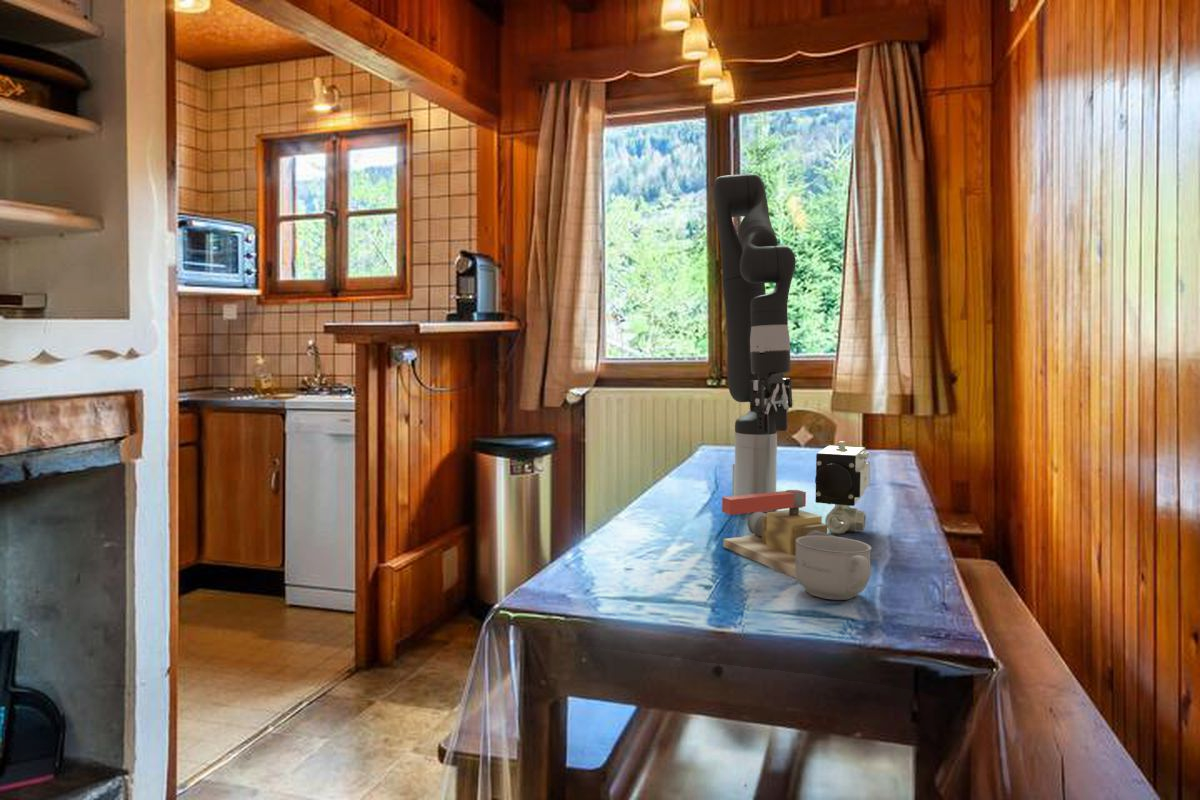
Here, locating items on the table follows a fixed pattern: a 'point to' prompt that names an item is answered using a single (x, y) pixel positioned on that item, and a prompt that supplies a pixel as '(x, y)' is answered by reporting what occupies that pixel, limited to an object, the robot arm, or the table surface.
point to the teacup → (832, 566)
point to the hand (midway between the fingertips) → (772, 432)
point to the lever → (763, 502)
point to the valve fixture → (777, 537)
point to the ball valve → (842, 485)
